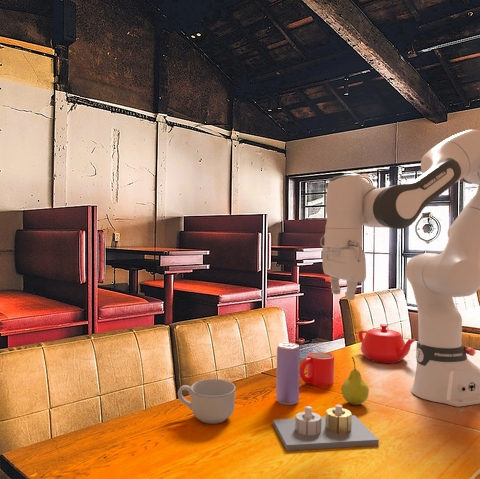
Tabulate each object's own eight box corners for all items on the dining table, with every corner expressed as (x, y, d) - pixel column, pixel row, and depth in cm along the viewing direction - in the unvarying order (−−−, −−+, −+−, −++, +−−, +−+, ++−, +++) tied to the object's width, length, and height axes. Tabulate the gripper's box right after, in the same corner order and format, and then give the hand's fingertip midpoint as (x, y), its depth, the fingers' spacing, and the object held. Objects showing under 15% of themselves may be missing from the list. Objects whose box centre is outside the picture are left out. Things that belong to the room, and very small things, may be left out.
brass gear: (345, 422, 109) (345, 407, 109) (354, 432, 104) (354, 416, 103) (322, 423, 108) (323, 408, 108) (330, 434, 103) (331, 417, 103)
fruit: (372, 409, 120) (372, 362, 120) (345, 409, 120) (346, 362, 120) (363, 399, 127) (363, 354, 127) (338, 399, 127) (338, 355, 127)
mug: (291, 382, 140) (291, 356, 140) (320, 375, 147) (320, 350, 147) (309, 390, 134) (310, 362, 134) (339, 382, 141) (339, 356, 141)
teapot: (343, 354, 173) (344, 321, 172) (373, 348, 181) (373, 317, 181) (399, 372, 151) (400, 334, 151) (430, 365, 160) (431, 329, 159)
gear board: (354, 420, 113) (355, 394, 113) (378, 445, 100) (379, 416, 100) (273, 424, 110) (273, 398, 110) (286, 450, 97) (287, 421, 97)
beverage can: (298, 406, 122) (298, 348, 121) (274, 404, 123) (275, 347, 122) (299, 398, 127) (300, 343, 127) (277, 396, 129) (278, 341, 128)
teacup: (241, 413, 117) (241, 381, 117) (225, 431, 107) (226, 396, 106) (190, 406, 121) (190, 375, 121) (170, 422, 111) (170, 388, 111)
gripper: (373, 241, 106) (372, 303, 106) (341, 239, 126) (340, 291, 126) (346, 241, 105) (345, 303, 105) (318, 239, 125) (317, 291, 126)
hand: (342, 296), depth 116 cm, fingers open, 8 cm apart
